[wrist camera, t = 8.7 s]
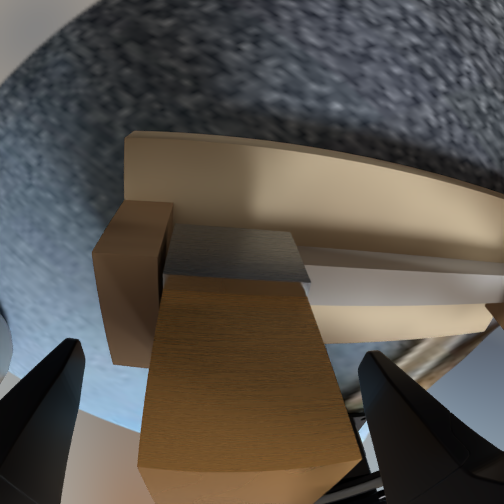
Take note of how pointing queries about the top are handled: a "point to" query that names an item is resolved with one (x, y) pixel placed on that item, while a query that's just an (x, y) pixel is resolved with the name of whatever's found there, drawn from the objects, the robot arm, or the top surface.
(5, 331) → the plastic bottle
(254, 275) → the slider block
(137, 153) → the rail board
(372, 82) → the top surface
